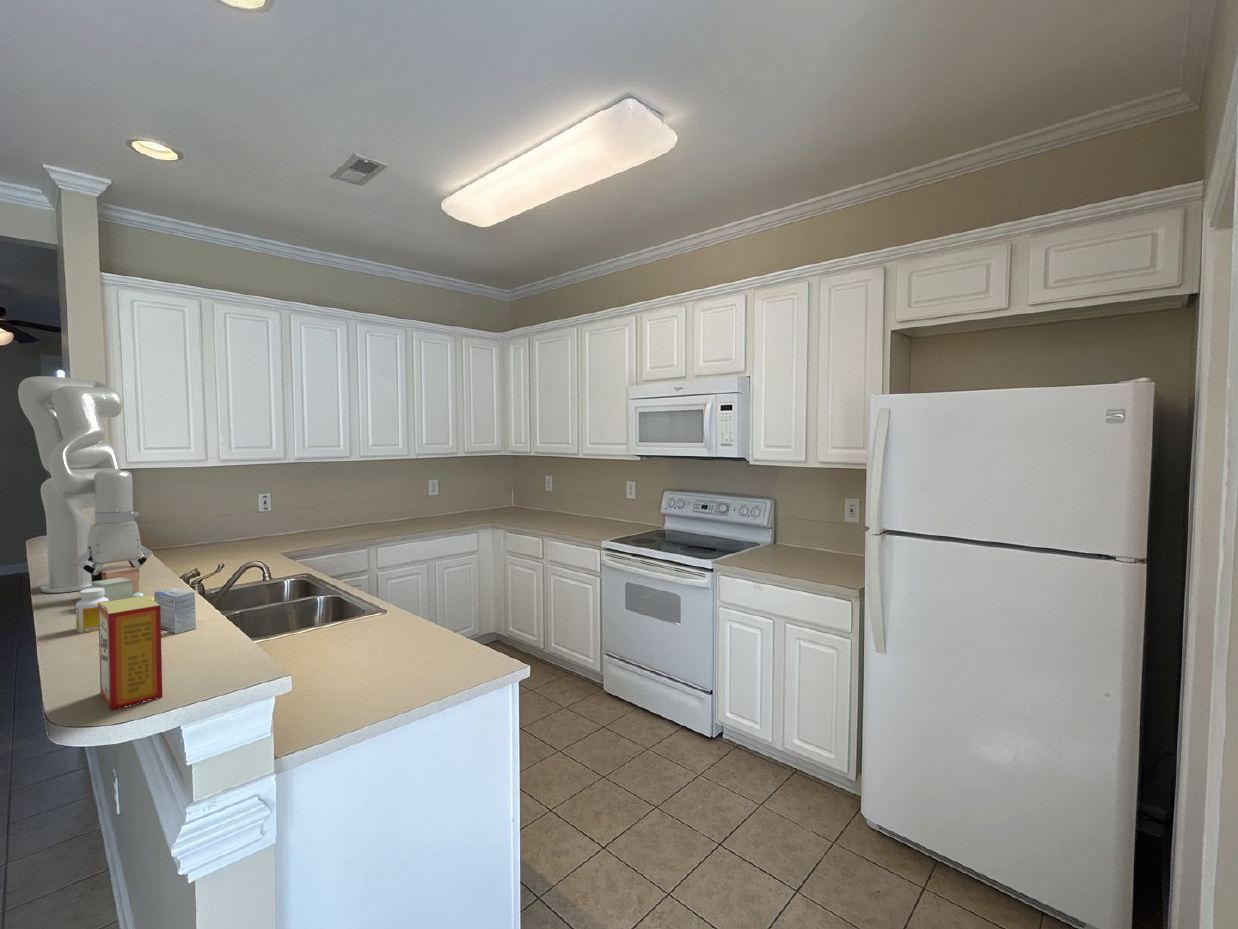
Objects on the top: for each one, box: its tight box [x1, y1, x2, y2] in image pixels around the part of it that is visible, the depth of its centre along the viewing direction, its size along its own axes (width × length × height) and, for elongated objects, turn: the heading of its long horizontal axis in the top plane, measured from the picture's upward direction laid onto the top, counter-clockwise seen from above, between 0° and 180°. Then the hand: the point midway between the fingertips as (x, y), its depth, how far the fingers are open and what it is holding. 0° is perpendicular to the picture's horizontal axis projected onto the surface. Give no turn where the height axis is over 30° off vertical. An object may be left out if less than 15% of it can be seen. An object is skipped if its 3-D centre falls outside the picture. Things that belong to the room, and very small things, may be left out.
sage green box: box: [92, 577, 133, 601], centre depth 143 cm, size 6×6×6 cm
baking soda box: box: [98, 594, 163, 712], centre depth 97 cm, size 10×6×16 cm
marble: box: [131, 592, 145, 597], centre depth 144 cm, size 3×3×3 cm
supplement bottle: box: [75, 588, 109, 633], centre depth 126 cm, size 5×5×10 cm
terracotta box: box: [100, 564, 140, 593], centre depth 151 cm, size 9×7×6 cm
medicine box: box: [153, 587, 197, 635], centre depth 130 cm, size 8×4×9 cm, turn 65°
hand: (115, 585), depth 151 cm, fingers closed on terracotta box, 6 cm apart
